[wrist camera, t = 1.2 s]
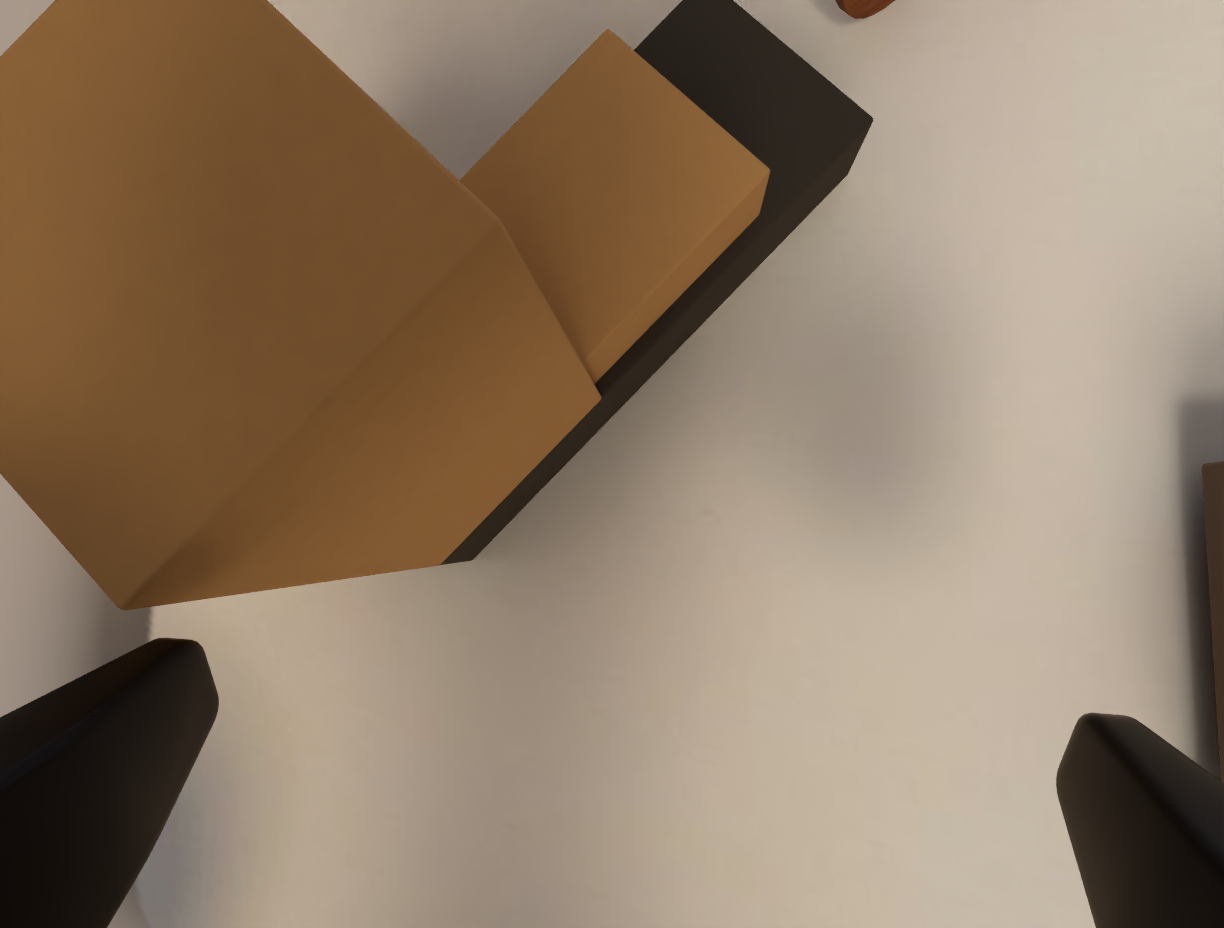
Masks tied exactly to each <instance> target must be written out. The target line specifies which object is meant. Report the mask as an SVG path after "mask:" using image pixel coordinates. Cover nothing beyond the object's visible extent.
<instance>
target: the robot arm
mask: <svg viewBox="0 0 1224 928" xmlns="http://www.w3.org/2000/svg"><path fill="white" fill-rule="evenodd" d="M218 706H219V698H218V693H217V690H216V686H215V683H214V680H213V677H212V674H211V671H210V667H209V664H208V661H207V658H206V655H205V652H204V649H203V647H202V646H201V645H200V644H199V643H198V642H196V641H193V640H188V639H175V638H158V639H155V640H152V641H150V642H148V643H146V644H144V645H142V646H140V647H138V648H136V649H134V650H132V651H130V652H129V653H127V654H125V655H123V656H121V657H119V658H117V659H115V660H113V661H111V662H109V663H107V664H105V665H103V666H101V667H99V668H97V669H95V670H93V671H91V672H89V673H87V674H85V675H83V676H81V677H79V678H77V679H75V680H74V681H72V682H69V683H67V684H65V685H63V686H61V687H60V688H57V689H55V690H53V691H52V692H50V693H48V694H46V695H44V696H42V697H40V698H38V699H36V700H34V701H32V702H30V703H28V704H26V705H24V706H22V707H20V708H18V709H16V710H14V711H12V712H10V713H8V714H6V715H4V716H2V717H1V718H0V928H107V927H108V925H109V923H110V922H111V920H112V918H113V917H114V915H115V913H116V912H117V910H118V908H119V907H120V905H121V903H122V902H123V900H124V898H125V897H126V895H127V893H128V892H129V890H130V888H131V887H132V885H133V883H134V882H135V880H136V878H137V876H138V875H139V873H140V871H141V869H142V868H143V866H144V864H145V862H146V861H147V859H148V857H149V855H150V853H151V851H152V849H153V847H154V845H155V844H156V842H157V840H158V838H159V836H160V834H161V832H162V830H163V828H164V826H165V823H166V821H167V819H168V817H169V815H170V813H171V811H172V809H173V807H174V805H175V803H176V801H177V798H178V796H179V794H180V792H181V790H182V788H183V786H184V784H185V782H186V780H187V778H188V776H189V773H190V771H191V769H192V767H193V765H194V763H195V761H196V759H197V757H198V755H199V753H200V751H201V748H202V746H203V744H204V742H205V740H206V738H207V736H208V734H209V732H210V730H211V728H212V725H213V723H214V721H215V718H216V715H217V712H218ZM1056 787H1057V794H1058V798H1059V802H1060V806H1061V809H1062V812H1063V816H1064V819H1065V823H1066V826H1067V830H1068V833H1069V837H1070V840H1071V843H1072V847H1073V850H1074V854H1075V857H1076V861H1077V864H1078V868H1079V871H1080V874H1081V878H1082V881H1083V885H1084V888H1085V892H1086V895H1087V898H1088V902H1089V905H1090V909H1091V912H1092V916H1093V919H1094V923H1095V926H1096V928H1224V783H1223V782H1221V781H1220V780H1219V779H1217V778H1216V777H1215V776H1213V775H1212V774H1210V773H1209V772H1208V771H1206V770H1205V769H1204V768H1202V767H1201V766H1199V765H1198V764H1197V763H1195V762H1194V761H1193V760H1191V759H1190V758H1188V757H1187V756H1186V755H1184V754H1183V753H1182V752H1180V751H1179V750H1178V749H1176V748H1175V747H1173V746H1172V745H1171V744H1169V743H1168V742H1167V741H1165V740H1164V739H1162V738H1161V737H1160V736H1158V735H1157V734H1156V733H1154V732H1153V731H1151V730H1150V729H1149V728H1147V727H1146V726H1145V725H1143V724H1142V723H1140V722H1139V721H1137V720H1136V719H1134V718H1131V717H1128V716H1124V715H1112V714H1100V713H1088V714H1085V715H1083V716H1082V717H1081V718H1079V720H1078V721H1077V723H1076V725H1075V728H1074V730H1073V733H1072V735H1071V738H1070V740H1069V743H1068V745H1067V748H1066V750H1065V753H1064V755H1063V758H1062V760H1061V763H1060V765H1059V768H1058V772H1057V778H1056Z"/></svg>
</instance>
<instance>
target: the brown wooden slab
mask: <svg viewBox="0 0 1224 928" xmlns="http://www.w3.org/2000/svg"><path fill="white" fill-rule="evenodd" d="M1202 478H1203V495H1204V511H1205V528H1206V545H1207V561H1208V578H1209V595H1210V611H1211V628H1212V645H1213V661H1214V678H1215V695H1216V711H1217V728H1218V745H1219V762H1220V778H1221V782H1223V783H1224V461H1222V462H1215V463H1207V464H1204V465H1203V466H1202Z"/></svg>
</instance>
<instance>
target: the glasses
mask: <svg viewBox="0 0 1224 928" xmlns="http://www.w3.org/2000/svg"><path fill="white" fill-rule="evenodd" d="M835 1H836V2H837V4H838V6H839V8H840V9H842V10H843V11H844V12H846V13H847V14H848V15H850V16H851V17H853V18H855V19H860V18H866V17H869V16H871V15H874V14H876V13H877V12H879V11H881V10H882V9H884V8H886V7H887V6H888V5H890V4H891V3H892V2H893V1H895V0H835Z"/></svg>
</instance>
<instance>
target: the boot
mask: <svg viewBox="0 0 1224 928" xmlns="http://www.w3.org/2000/svg"><path fill="white" fill-rule="evenodd" d="M872 122H873V118H872V117H871V116H870V115H869V114H868V113H867V112H865V111H864V110H863V109H862V108H861V107H859V106H858V105H857V104H856V103H855V102H853V101H852V100H851V99H850V98H849V97H847V96H846V95H845V94H844V93H843V92H841V91H840V90H839V89H838V88H837V87H836V86H834V85H833V84H832V83H831V82H830V81H828V80H827V79H826V78H825V77H824V76H822V75H821V74H820V73H819V72H818V71H816V70H815V69H814V68H813V67H812V66H810V65H809V64H808V63H807V62H806V61H805V60H803V59H802V58H801V57H800V56H799V55H797V54H796V53H795V52H794V51H793V50H791V49H790V48H789V47H788V46H787V45H785V44H784V43H783V42H782V41H781V40H780V39H778V38H777V37H776V36H775V35H774V34H772V33H771V32H770V31H769V30H768V29H766V28H765V27H764V26H763V25H762V24H760V23H759V22H758V21H757V20H756V19H754V18H753V17H752V16H751V15H750V14H749V13H747V12H746V11H745V10H744V9H743V8H741V7H740V6H739V5H738V4H737V3H735V2H734V1H733V0H682V1H681V2H680V3H679V4H678V5H677V7H676V8H675V9H674V10H673V11H672V12H671V13H670V14H669V15H668V16H667V17H666V18H665V19H664V20H663V21H662V22H661V23H660V24H659V25H658V26H657V27H656V28H655V29H654V30H653V31H652V32H651V33H650V34H649V35H648V36H647V37H646V38H645V39H644V40H643V41H642V42H641V43H640V44H639V46H638V47H637V48H636V49H635V50H632V49H631V48H630V47H629V46H628V45H627V44H626V43H624V42H623V41H622V40H621V39H620V38H619V37H617V36H616V35H615V34H614V33H613V32H612V31H611V30H609V29H607V30H606V31H605V32H604V33H603V34H602V35H601V36H600V37H599V38H598V39H597V40H596V41H595V42H594V43H593V44H592V45H591V46H590V47H589V48H588V49H587V50H586V51H585V52H584V53H583V54H582V55H581V56H580V57H579V58H578V59H577V60H576V61H575V62H574V63H573V64H572V66H571V67H570V68H569V69H568V70H567V71H566V72H565V73H564V74H563V75H562V76H561V77H560V78H559V79H558V80H557V81H556V82H555V83H554V84H553V85H552V86H551V87H550V88H549V89H548V90H547V91H546V92H545V93H544V94H543V95H542V96H541V97H540V98H539V99H538V100H537V101H536V102H535V103H534V105H533V106H532V107H531V108H530V109H529V110H528V111H527V112H526V113H525V114H524V115H523V116H522V117H521V118H520V119H519V120H518V121H517V122H516V123H515V124H514V125H513V126H512V127H511V128H510V129H509V130H508V131H507V132H506V133H505V134H504V135H503V136H502V137H501V138H500V139H499V140H498V141H497V142H496V144H495V145H494V146H493V147H492V148H491V149H490V150H489V151H488V152H487V153H486V154H485V155H484V156H483V157H482V158H481V159H480V160H479V161H478V162H477V163H476V164H475V165H474V166H473V167H472V168H471V169H470V170H469V171H468V172H467V173H466V174H465V175H464V176H463V177H462V178H461V179H460V180H458V179H457V178H456V177H455V176H454V175H453V174H451V173H450V172H449V171H448V170H447V169H446V168H445V167H444V166H443V165H442V164H441V163H440V162H439V161H438V160H437V159H435V158H434V157H433V156H432V155H431V154H430V153H429V152H428V151H427V150H426V149H425V148H424V147H423V146H422V145H421V144H419V143H418V142H417V141H416V140H415V139H414V138H413V137H412V136H411V135H410V134H409V133H408V132H407V131H406V130H405V129H404V128H402V127H401V126H400V125H399V124H398V123H397V122H396V121H395V120H394V119H393V118H392V117H391V116H390V115H389V114H388V113H386V112H385V111H384V110H383V109H382V108H381V107H380V106H379V105H378V104H377V103H376V102H375V101H374V100H373V99H372V98H370V97H369V96H368V95H367V94H366V93H365V92H364V91H363V90H362V89H361V88H360V87H359V86H358V85H357V84H356V83H355V82H353V81H352V80H351V79H350V78H349V77H348V76H347V75H346V74H345V73H344V72H343V71H342V70H341V69H340V68H339V67H337V66H336V65H335V64H334V63H333V62H332V61H331V60H330V59H329V58H328V57H327V56H326V55H325V54H324V53H323V52H322V51H320V50H319V49H318V48H317V47H316V46H315V45H314V44H313V43H312V42H311V41H310V40H309V39H308V38H307V37H306V36H304V35H303V34H302V33H301V32H300V31H299V30H298V29H297V28H296V27H295V26H294V25H293V24H292V23H291V22H290V21H288V20H287V19H286V18H285V17H284V16H283V15H282V14H281V13H280V12H279V11H278V10H277V9H276V8H275V7H274V6H273V5H271V4H270V3H269V2H268V1H267V0H55V1H54V2H53V3H52V4H51V5H50V7H48V9H47V10H46V11H45V12H44V13H43V14H42V15H41V16H40V17H39V18H38V19H37V20H36V21H35V22H34V23H33V24H32V25H31V26H30V27H29V28H28V29H27V30H26V31H25V32H24V33H23V34H22V35H21V36H20V37H19V38H18V39H17V40H16V41H15V42H14V44H12V45H11V46H10V48H8V50H6V52H4V54H3V55H2V56H1V57H0V474H1V475H2V476H3V477H4V478H5V479H6V480H7V482H8V483H9V484H10V485H11V486H12V487H13V488H14V489H15V491H16V492H17V493H18V494H19V495H20V496H21V498H22V499H23V500H24V501H25V502H26V503H27V504H28V505H29V507H30V508H31V509H32V510H33V511H34V512H35V513H36V514H37V516H38V517H39V518H40V519H41V520H42V521H43V523H44V524H45V525H46V526H47V527H48V528H49V529H50V530H51V532H52V533H53V534H54V535H55V536H56V537H57V538H58V540H59V541H60V542H61V543H62V544H63V545H64V546H65V548H66V549H67V550H68V551H69V552H70V553H71V554H72V555H73V557H74V558H75V559H76V560H77V561H78V562H79V563H80V565H81V566H82V567H83V568H84V569H85V570H86V571H87V572H88V574H89V575H90V576H91V577H92V578H93V579H94V581H95V582H96V583H97V584H98V585H99V586H100V587H101V588H102V590H103V591H104V592H105V593H106V594H107V595H108V596H109V598H110V599H111V600H112V601H113V602H114V603H115V604H116V606H118V608H120V609H122V610H131V609H138V608H145V607H153V606H160V605H166V604H173V603H180V602H187V601H194V600H201V599H208V598H215V597H222V596H229V595H236V594H243V593H250V592H257V591H264V590H271V589H278V588H285V587H292V586H299V585H306V584H312V583H319V582H326V581H333V580H340V579H347V578H354V577H361V576H368V575H375V574H382V573H389V572H396V571H403V570H410V569H417V568H424V567H431V566H438V565H443V564H450V563H457V562H464V561H471V560H473V559H474V558H475V557H476V556H477V555H478V554H479V553H480V552H481V551H482V550H483V549H484V548H485V547H486V546H487V545H488V544H489V543H490V542H491V541H492V539H493V538H494V537H495V536H496V535H497V534H498V533H499V532H500V531H501V530H502V529H503V528H504V527H505V526H506V525H507V524H508V523H509V522H510V521H511V520H512V519H513V518H514V517H515V516H516V515H517V514H518V513H519V512H520V511H521V510H522V509H523V508H524V507H525V506H526V505H527V503H528V502H529V501H530V500H531V499H532V498H533V497H534V496H535V495H536V494H537V493H538V492H539V491H540V490H541V489H542V488H543V487H544V486H545V485H546V484H547V483H548V482H549V481H550V480H551V479H552V478H553V477H554V476H555V475H556V474H557V473H558V472H559V471H560V470H561V469H562V468H563V466H564V465H565V464H566V463H567V462H568V461H569V460H570V459H571V458H572V457H573V456H574V455H575V454H576V453H577V452H578V451H579V450H580V449H581V448H582V447H583V446H584V445H585V444H586V443H587V442H588V441H589V440H590V439H591V438H592V437H593V436H594V435H595V434H596V433H597V432H598V430H599V429H600V428H601V427H602V426H603V425H604V424H605V423H606V422H607V421H608V420H609V419H610V418H611V417H612V416H613V415H614V414H615V413H616V412H617V411H618V410H619V409H620V408H621V407H622V406H623V405H624V404H625V403H626V402H627V401H628V400H629V399H630V398H631V397H632V396H633V395H634V393H635V392H636V391H637V390H638V389H639V388H640V387H641V386H642V385H643V384H644V383H645V382H646V381H647V380H648V379H649V378H650V377H651V376H652V375H653V374H654V373H655V372H656V371H657V370H658V369H659V368H660V367H661V366H662V365H663V364H664V363H665V362H666V361H667V360H668V359H669V357H670V356H671V355H672V354H673V353H674V352H675V351H676V350H677V349H678V348H679V347H680V346H681V345H682V344H683V343H684V342H685V341H686V340H687V339H688V338H689V337H690V336H691V335H692V334H693V333H694V332H695V331H696V330H697V329H698V328H699V327H700V326H701V325H702V324H703V323H704V322H705V320H706V319H707V318H708V317H709V316H710V315H711V314H712V313H713V312H714V311H715V310H716V309H717V308H718V307H719V306H720V305H721V304H722V303H723V302H724V301H725V300H726V299H727V298H728V297H729V296H730V295H731V294H732V293H733V292H734V291H735V290H736V289H737V288H738V287H739V286H740V284H741V283H742V282H743V281H744V280H745V279H746V278H747V277H748V276H749V275H750V274H751V273H752V272H753V271H754V270H755V269H756V268H757V267H758V266H759V265H760V264H761V263H762V262H763V261H764V260H765V259H766V258H767V257H768V256H769V255H770V254H771V253H772V252H773V251H774V250H775V249H776V247H777V246H778V245H779V244H780V243H781V242H782V241H783V240H784V239H785V238H786V237H787V236H788V235H789V234H790V233H791V232H792V231H793V230H794V229H795V228H796V227H797V226H798V225H799V224H800V223H801V222H802V221H803V220H804V219H805V218H806V217H807V216H808V215H809V214H810V213H811V211H812V210H813V209H814V208H815V207H816V206H817V205H818V204H819V203H820V202H821V201H822V200H823V199H824V198H825V197H826V196H827V195H828V194H829V193H830V192H831V191H832V190H833V189H834V188H835V187H836V186H837V185H838V184H839V183H840V182H841V181H842V180H843V179H844V178H845V177H846V176H847V174H848V172H849V170H850V168H851V166H852V164H853V162H854V160H855V158H856V156H857V154H858V151H859V149H860V147H861V145H862V143H863V141H864V139H865V137H866V135H867V132H868V130H869V128H870V126H871V124H872Z"/></svg>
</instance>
